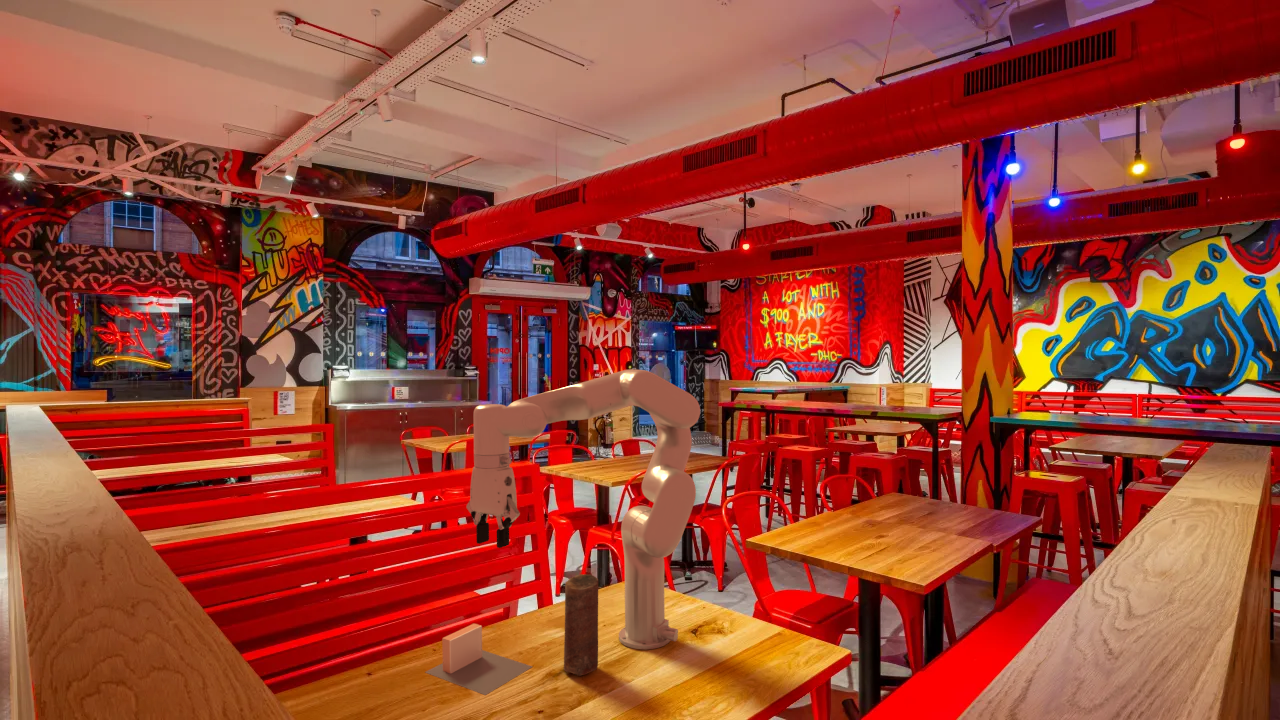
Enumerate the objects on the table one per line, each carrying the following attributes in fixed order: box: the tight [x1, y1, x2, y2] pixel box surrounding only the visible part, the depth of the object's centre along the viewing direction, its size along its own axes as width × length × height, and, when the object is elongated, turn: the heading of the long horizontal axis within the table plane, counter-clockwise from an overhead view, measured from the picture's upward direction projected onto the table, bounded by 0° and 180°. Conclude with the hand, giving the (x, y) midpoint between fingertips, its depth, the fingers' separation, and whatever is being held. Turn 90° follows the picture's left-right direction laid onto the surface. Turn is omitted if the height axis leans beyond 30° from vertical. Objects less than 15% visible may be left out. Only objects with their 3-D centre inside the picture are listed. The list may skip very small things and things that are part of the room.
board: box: [424, 649, 533, 696], centre depth 143 cm, size 18×14×1 cm
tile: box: [441, 623, 483, 673], centre depth 146 cm, size 2×9×7 cm, turn 147°
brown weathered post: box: [563, 573, 599, 677], centre depth 144 cm, size 8×7×20 cm
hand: (492, 543), depth 145 cm, fingers open, 5 cm apart
